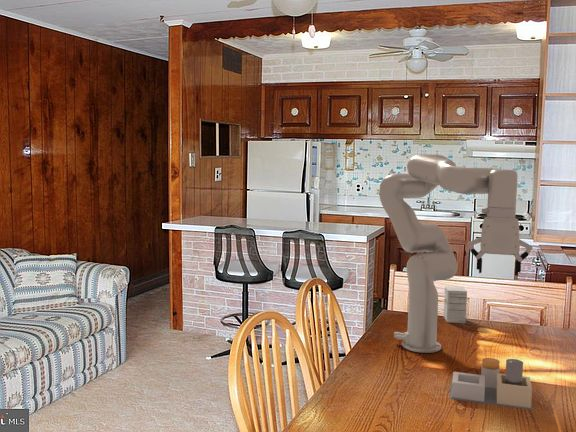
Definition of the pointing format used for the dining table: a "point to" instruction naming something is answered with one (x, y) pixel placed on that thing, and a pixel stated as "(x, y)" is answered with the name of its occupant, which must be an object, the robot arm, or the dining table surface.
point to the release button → (490, 363)
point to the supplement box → (455, 304)
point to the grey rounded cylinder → (514, 372)
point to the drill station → (491, 389)
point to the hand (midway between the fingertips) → (498, 273)
